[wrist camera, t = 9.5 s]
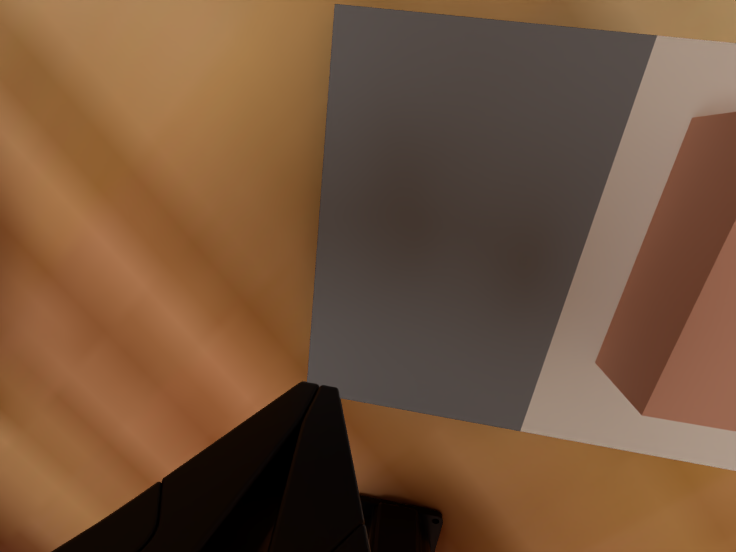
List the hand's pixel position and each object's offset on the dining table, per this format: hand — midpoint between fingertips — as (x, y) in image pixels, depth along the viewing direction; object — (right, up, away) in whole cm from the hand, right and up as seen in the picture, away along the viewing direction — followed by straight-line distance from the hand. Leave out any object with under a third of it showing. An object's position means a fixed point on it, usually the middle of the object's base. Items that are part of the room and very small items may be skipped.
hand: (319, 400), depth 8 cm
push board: (+13, +3, +10) cm, 17 cm away
